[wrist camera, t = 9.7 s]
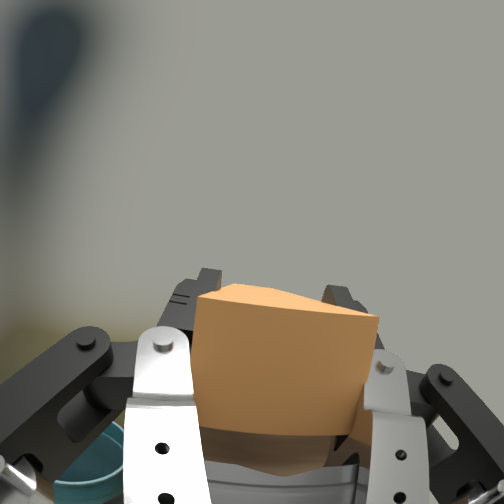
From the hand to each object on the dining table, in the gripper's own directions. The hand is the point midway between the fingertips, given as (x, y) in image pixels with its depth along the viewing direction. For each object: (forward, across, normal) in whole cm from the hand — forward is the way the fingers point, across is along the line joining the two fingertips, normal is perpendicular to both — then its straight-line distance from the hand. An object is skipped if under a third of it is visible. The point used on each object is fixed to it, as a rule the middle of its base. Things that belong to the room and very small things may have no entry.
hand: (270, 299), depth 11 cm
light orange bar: (+4, 0, +6) cm, 7 cm away
